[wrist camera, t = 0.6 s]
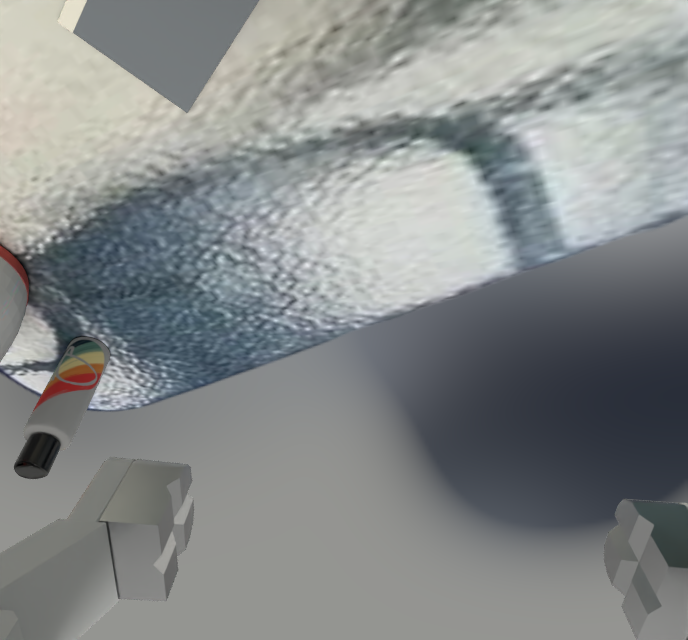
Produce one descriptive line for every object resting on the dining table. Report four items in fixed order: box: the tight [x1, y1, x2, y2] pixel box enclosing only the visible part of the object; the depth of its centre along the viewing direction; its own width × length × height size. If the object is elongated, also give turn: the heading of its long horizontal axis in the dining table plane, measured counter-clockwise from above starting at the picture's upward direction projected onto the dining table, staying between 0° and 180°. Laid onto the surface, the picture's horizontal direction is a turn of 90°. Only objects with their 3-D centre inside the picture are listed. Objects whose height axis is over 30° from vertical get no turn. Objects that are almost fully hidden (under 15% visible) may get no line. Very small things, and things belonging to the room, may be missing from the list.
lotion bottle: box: [14, 337, 110, 479], centre depth 74 cm, size 6×6×20 cm
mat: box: [57, 0, 259, 113], centre depth 50 cm, size 14×13×1 cm
